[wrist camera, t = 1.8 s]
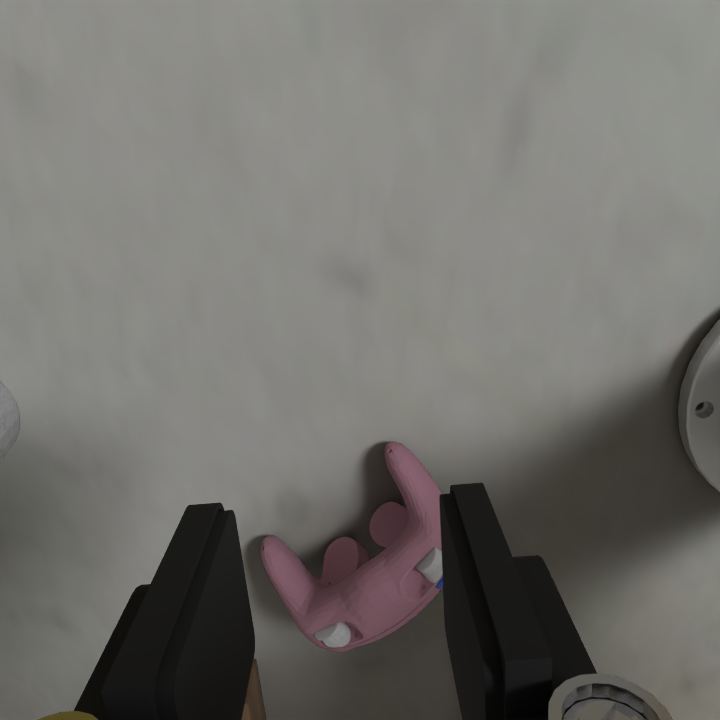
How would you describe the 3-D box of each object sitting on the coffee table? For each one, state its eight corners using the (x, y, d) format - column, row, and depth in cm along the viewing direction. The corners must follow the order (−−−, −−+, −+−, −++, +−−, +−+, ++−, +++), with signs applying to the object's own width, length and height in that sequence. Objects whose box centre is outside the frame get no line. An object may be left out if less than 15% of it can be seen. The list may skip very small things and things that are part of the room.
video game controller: (303, 564, 35) (337, 686, 30) (248, 539, 32) (275, 670, 27) (439, 463, 33) (501, 574, 28) (394, 426, 30) (453, 543, 25)
